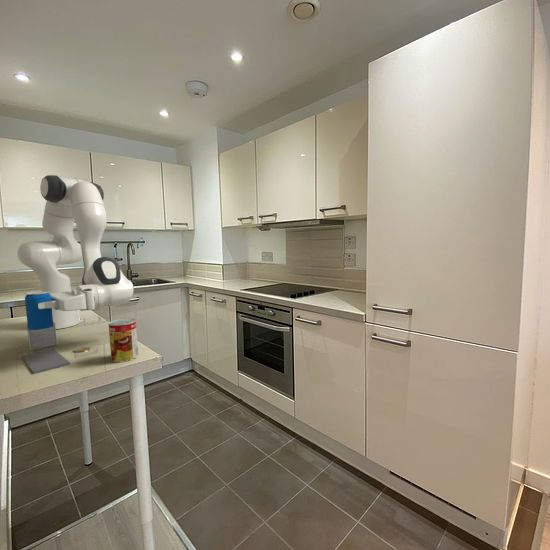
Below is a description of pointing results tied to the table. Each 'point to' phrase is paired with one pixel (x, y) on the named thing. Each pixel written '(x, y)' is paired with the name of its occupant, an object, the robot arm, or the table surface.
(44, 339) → the medicine box
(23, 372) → the table surface
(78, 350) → the tan flat disc
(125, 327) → the canned food
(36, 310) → the beverage can
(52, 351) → the charcoal mat
